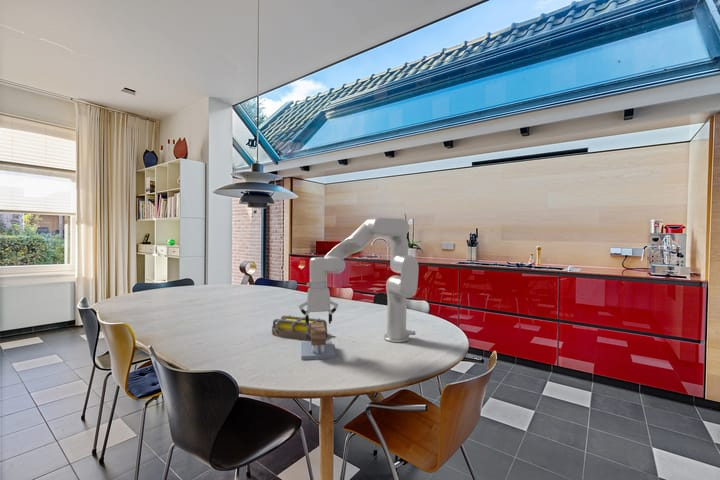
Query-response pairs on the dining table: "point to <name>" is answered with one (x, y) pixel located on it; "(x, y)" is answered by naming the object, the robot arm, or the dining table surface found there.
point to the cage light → (295, 327)
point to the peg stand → (317, 351)
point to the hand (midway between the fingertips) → (318, 323)
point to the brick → (318, 334)
